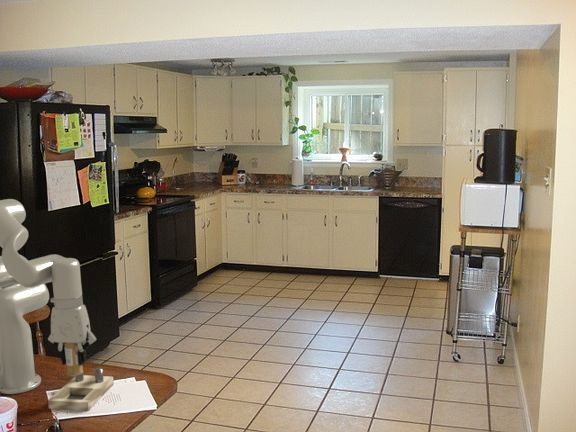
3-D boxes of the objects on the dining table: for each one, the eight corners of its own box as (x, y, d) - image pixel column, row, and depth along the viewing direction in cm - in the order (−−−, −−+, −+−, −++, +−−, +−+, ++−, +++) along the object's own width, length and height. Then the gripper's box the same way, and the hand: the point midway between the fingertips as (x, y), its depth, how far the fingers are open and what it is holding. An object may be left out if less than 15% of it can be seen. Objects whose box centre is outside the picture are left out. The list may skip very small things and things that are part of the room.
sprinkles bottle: (85, 374, 178) (81, 329, 176) (69, 378, 176) (64, 333, 173) (81, 369, 182) (76, 325, 180) (65, 373, 180) (60, 328, 177)
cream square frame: (48, 408, 176) (46, 387, 175) (77, 382, 193) (75, 362, 192) (88, 410, 175) (86, 389, 174) (113, 384, 191) (112, 364, 190)
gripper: (33, 305, 173) (40, 367, 176) (90, 307, 170) (96, 369, 173) (47, 297, 180) (53, 357, 183) (102, 298, 178) (107, 358, 181)
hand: (74, 362), depth 178 cm, fingers closed on sprinkles bottle, 4 cm apart
